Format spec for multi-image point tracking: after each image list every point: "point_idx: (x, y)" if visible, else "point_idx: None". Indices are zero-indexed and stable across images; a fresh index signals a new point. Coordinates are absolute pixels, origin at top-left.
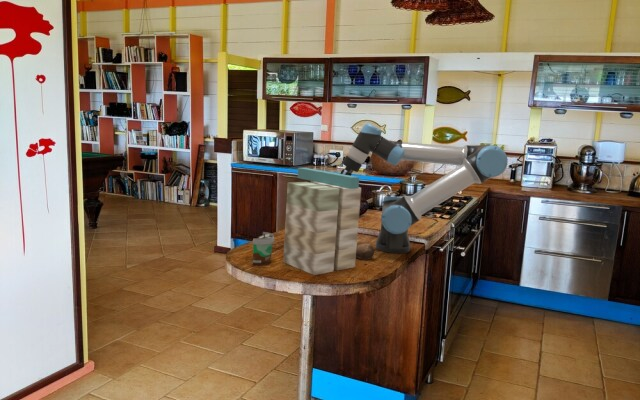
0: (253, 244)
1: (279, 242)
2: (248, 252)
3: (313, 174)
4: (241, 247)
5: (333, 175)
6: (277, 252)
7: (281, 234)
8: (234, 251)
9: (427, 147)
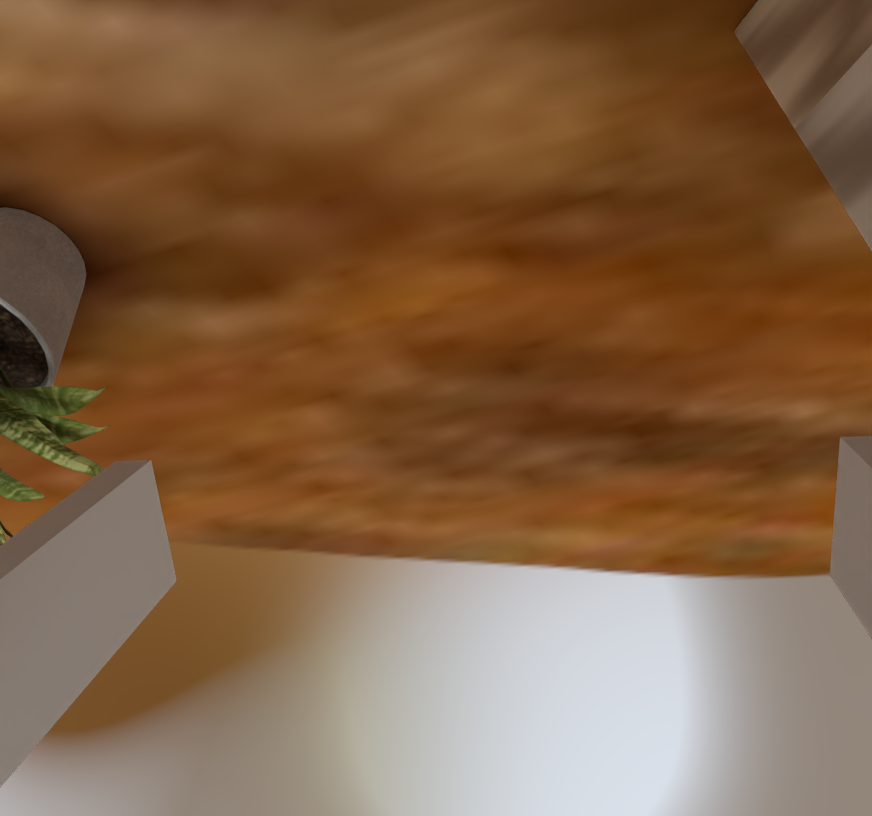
0: None
1: (453, 468)
2: (830, 520)
3: None
4: (714, 575)
5: None
6: (765, 397)
7: (217, 520)
8: (829, 573)
9: None
